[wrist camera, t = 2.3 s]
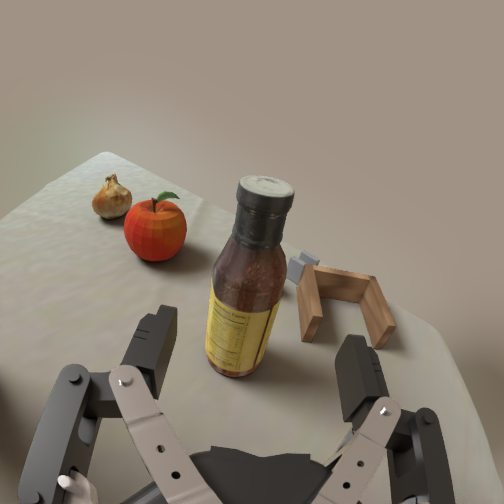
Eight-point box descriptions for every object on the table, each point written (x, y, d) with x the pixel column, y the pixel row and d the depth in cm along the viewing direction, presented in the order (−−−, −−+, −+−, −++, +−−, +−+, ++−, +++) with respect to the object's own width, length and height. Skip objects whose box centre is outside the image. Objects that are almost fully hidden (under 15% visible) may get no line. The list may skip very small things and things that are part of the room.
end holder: (301, 341, 36) (313, 315, 33) (296, 287, 45) (304, 263, 42) (380, 349, 36) (396, 326, 34) (364, 299, 45) (375, 276, 43)
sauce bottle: (237, 329, 35) (275, 167, 25) (271, 365, 32) (332, 196, 21) (190, 349, 31) (210, 170, 21) (223, 391, 28) (267, 206, 17)
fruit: (122, 239, 47) (121, 183, 41) (176, 235, 51) (181, 180, 46) (128, 274, 40) (126, 210, 34) (191, 268, 44) (198, 206, 39)
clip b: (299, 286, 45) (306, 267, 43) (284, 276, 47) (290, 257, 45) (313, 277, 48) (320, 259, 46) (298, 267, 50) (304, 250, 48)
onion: (84, 217, 50) (82, 177, 46) (114, 204, 57) (115, 167, 53) (108, 230, 48) (106, 187, 44) (139, 215, 54) (140, 176, 50)
